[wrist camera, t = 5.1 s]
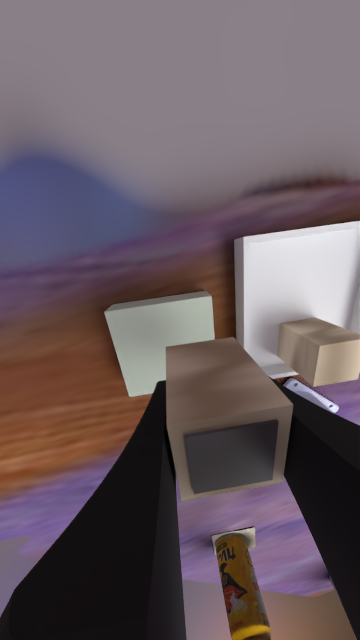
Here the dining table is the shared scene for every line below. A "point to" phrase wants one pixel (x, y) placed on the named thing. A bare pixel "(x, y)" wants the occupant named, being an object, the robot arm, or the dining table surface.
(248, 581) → the condiment
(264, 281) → the parts tray
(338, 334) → the plain block
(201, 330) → the sage stand
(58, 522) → the dining table surface
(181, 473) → the labelled block
